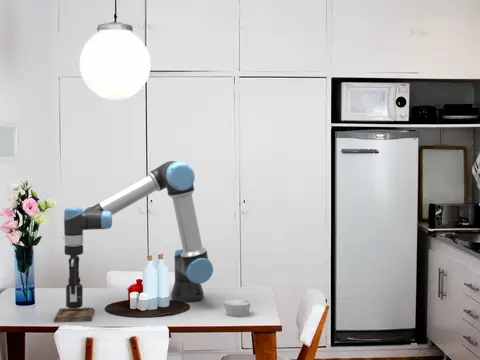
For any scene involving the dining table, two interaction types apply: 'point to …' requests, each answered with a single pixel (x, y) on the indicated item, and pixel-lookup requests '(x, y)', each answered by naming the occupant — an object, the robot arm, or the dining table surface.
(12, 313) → the dining table surface
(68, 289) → the supplement bottle
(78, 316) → the walnut tray
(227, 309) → the ramekin
